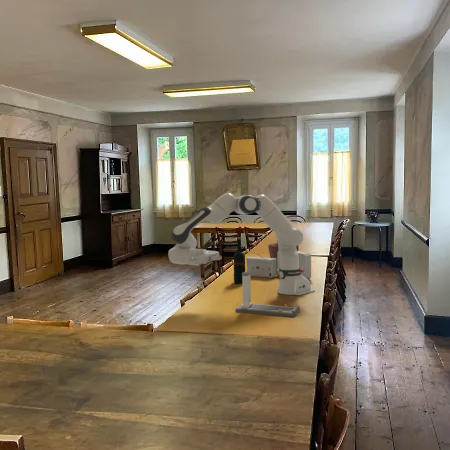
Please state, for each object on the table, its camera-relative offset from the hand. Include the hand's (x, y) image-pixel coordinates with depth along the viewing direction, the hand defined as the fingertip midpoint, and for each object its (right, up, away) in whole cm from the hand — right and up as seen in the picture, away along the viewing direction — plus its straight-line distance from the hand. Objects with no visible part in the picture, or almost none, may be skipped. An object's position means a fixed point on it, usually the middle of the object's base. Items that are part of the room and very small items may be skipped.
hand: (220, 258), depth 236 cm
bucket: (+47, -16, +110) cm, 121 cm away
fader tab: (+14, -24, -3) cm, 28 cm away
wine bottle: (+12, -21, +63) cm, 67 cm away
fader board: (+24, -26, -7) cm, 36 cm away
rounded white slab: (+50, -19, +78) cm, 94 cm away
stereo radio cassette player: (+28, -19, +83) cm, 89 cm away
